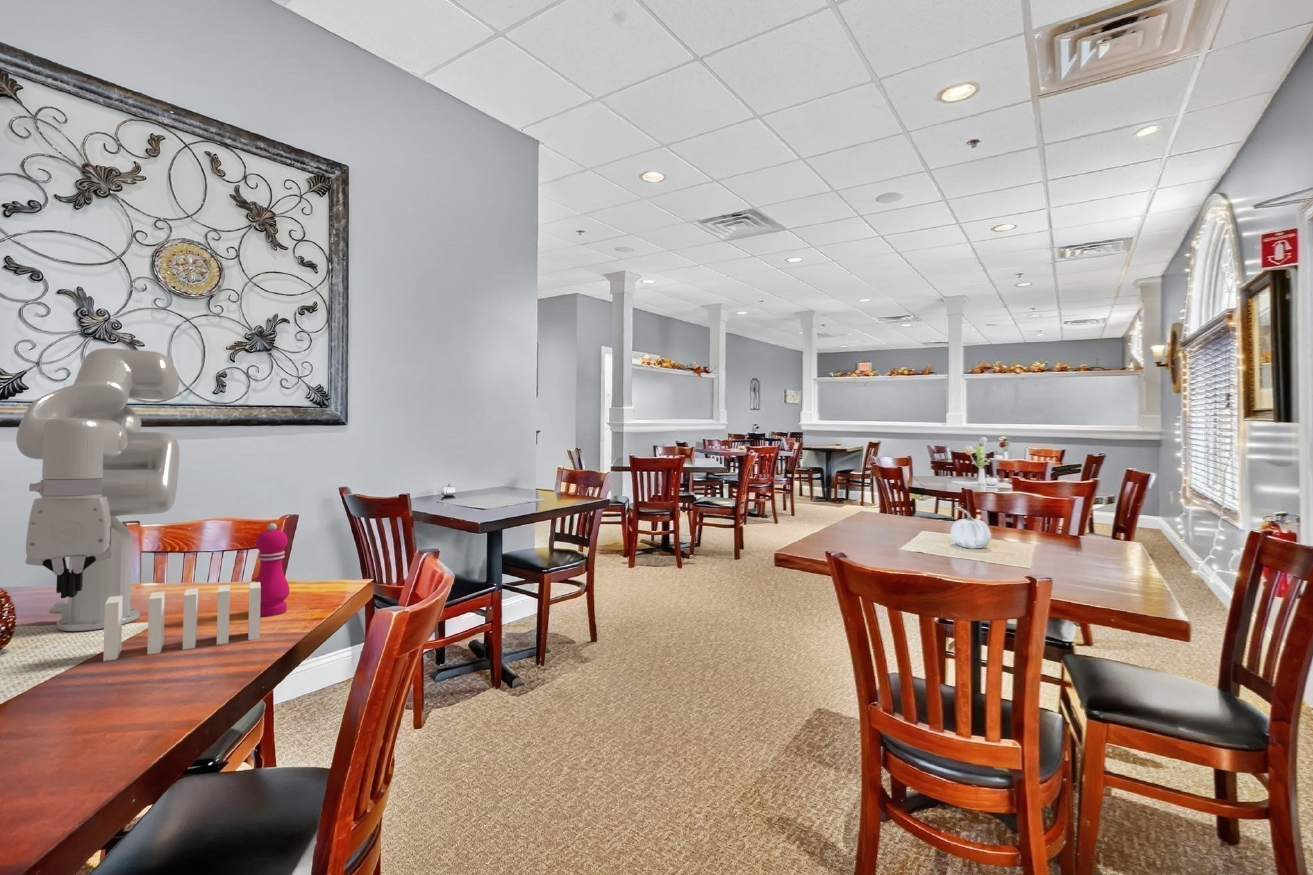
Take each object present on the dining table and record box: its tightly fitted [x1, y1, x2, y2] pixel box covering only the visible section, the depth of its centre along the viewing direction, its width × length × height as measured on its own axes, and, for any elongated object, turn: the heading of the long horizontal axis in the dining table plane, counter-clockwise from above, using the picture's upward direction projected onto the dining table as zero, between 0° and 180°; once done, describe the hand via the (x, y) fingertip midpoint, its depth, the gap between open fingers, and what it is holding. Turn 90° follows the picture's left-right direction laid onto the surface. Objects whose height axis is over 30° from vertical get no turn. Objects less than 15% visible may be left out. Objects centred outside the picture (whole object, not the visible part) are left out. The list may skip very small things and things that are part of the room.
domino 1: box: [146, 591, 166, 656], centre depth 110 cm, size 2×5×10 cm, turn 35°
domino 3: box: [216, 584, 231, 646], centre depth 116 cm, size 2×5×10 cm, turn 35°
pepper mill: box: [254, 522, 290, 617], centre depth 134 cm, size 7×7×20 cm
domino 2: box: [182, 587, 199, 651], centre depth 113 cm, size 2×5×10 cm, turn 35°
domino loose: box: [102, 596, 123, 662], centre depth 107 cm, size 2×5×10 cm, turn 36°
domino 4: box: [247, 582, 261, 641], centre depth 119 cm, size 2×5×10 cm, turn 35°
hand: (69, 596), depth 103 cm, fingers closed
